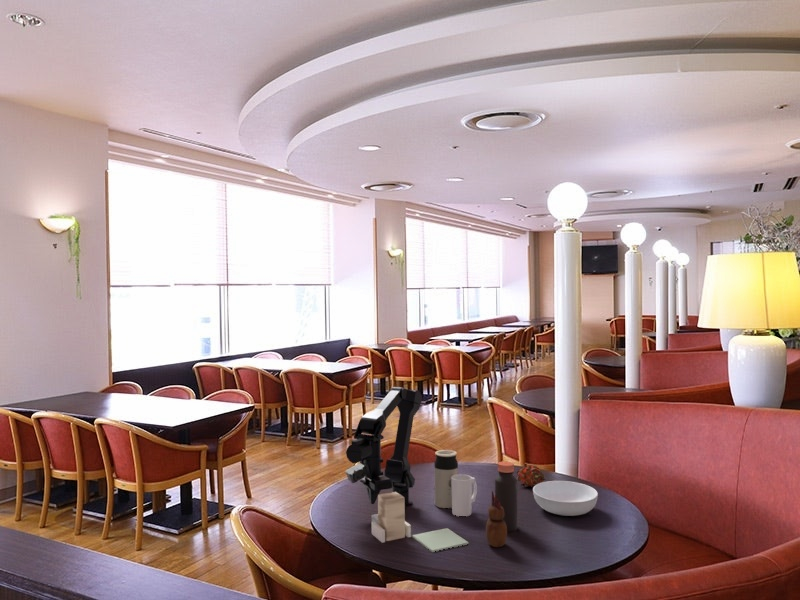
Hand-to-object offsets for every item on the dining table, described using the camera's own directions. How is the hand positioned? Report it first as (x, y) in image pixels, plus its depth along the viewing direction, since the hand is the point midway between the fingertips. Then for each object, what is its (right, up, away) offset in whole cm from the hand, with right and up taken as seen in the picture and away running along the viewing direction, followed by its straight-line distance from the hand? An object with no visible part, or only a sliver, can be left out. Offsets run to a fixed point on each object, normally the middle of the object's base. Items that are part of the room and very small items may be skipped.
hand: (372, 503), depth 200 cm
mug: (+30, -5, +6) cm, 32 cm away
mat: (+21, -5, -17) cm, 27 cm away
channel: (+6, -5, -12) cm, 15 cm away
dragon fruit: (+57, -4, +33) cm, 66 cm away
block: (+6, -5, -13) cm, 15 cm away
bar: (+3, -6, -6) cm, 8 cm away
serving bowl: (+64, -5, +7) cm, 64 cm away
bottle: (+42, -5, -7) cm, 43 cm away
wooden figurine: (+37, -6, -20) cm, 42 cm away
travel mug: (+25, -5, +13) cm, 28 cm away
